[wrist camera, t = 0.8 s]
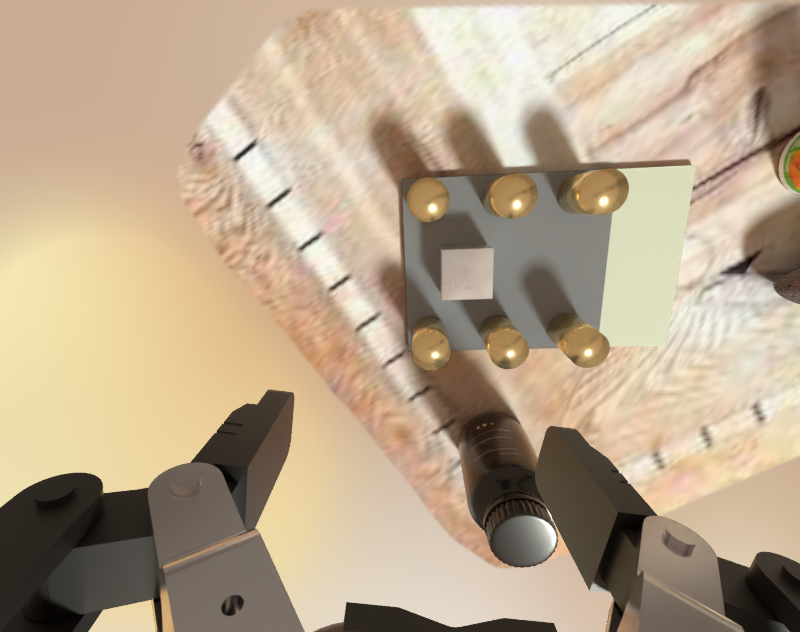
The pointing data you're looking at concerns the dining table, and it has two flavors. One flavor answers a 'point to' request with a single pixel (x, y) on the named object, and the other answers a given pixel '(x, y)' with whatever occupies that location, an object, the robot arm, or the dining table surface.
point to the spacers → (514, 201)
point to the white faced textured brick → (466, 272)
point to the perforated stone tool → (789, 286)
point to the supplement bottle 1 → (506, 490)
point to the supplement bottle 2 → (791, 165)
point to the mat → (557, 260)
